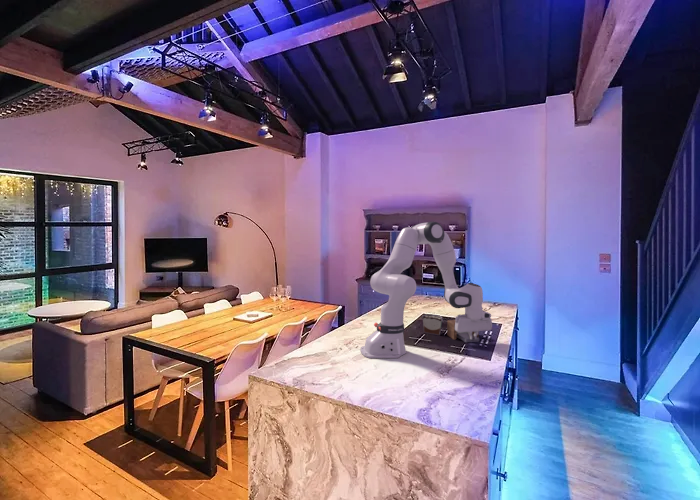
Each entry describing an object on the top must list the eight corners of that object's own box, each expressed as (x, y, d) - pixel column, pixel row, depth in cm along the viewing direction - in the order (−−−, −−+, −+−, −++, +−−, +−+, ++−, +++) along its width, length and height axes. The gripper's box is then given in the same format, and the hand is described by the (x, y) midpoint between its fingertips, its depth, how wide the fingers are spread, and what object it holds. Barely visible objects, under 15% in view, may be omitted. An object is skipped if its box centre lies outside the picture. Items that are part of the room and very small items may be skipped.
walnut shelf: (453, 339, 199) (454, 324, 198) (446, 335, 207) (447, 320, 206) (478, 337, 202) (479, 322, 201) (470, 333, 210) (471, 319, 209)
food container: (445, 332, 211) (446, 316, 210) (442, 335, 206) (442, 318, 205) (425, 329, 217) (425, 313, 217) (421, 332, 212) (421, 315, 211)
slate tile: (465, 343, 195) (465, 338, 194) (454, 336, 206) (454, 332, 206) (479, 342, 196) (479, 338, 196) (467, 335, 208) (467, 331, 208)
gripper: (458, 316, 188) (458, 342, 189) (494, 314, 192) (493, 339, 193) (452, 313, 194) (452, 338, 195) (487, 311, 198) (486, 336, 199)
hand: (472, 339), depth 194 cm, fingers closed
